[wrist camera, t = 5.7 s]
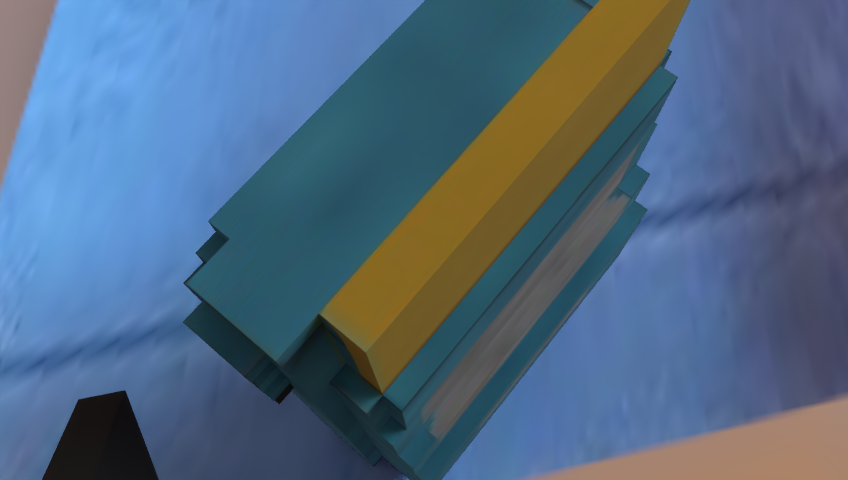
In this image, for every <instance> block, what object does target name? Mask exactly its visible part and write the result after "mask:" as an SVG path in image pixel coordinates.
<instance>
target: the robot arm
mask: <svg viewBox="0 0 848 480" xmlns="http://www.w3.org/2000/svg"><path fill="white" fill-rule="evenodd" d="M42 480H159V479H158V476H157V474H156V471H155V468H154V466H153V463H152V460H151V458H150V455H149V452H148V450H147V447H146V444H145V442H144V439H143V436H142V434H141V431H140V428H139V426H138V423H137V420H136V418H135V415H134V412H133V410H132V407H131V404H130V402H129V399H128V396H127V394H126V391H120V392H114V393H109V394H104V395H99V396H94V397H89V398H84V399H79V400H78V402H77V404H76V406H75V408H74V410H73V413H72V415H71V417H70V419H69V421H68V424H67V426H66V428H65V430H64V432H63V435H62V437H61V439H60V441H59V443H58V446H57V448H56V450H55V452H54V455H53V457H52V459H51V461H50V463H49V466H48V468H47V470H46V472H45V474H44V477H43V479H42Z"/></svg>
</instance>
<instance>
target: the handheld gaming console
mask: <svg viewBox="0 0 848 480" xmlns="http://www.w3.org/2000/svg"><path fill="white" fill-rule="evenodd" d="M689 2H690V0H425V1H424V2H423V3H422V4H421V5H420V6H419V7H418V8H417V9H416V10H415V11H414V12H413V13H412V14H411V15H410V16H409V17H408V19H407V20H406V21H405V22H404V23H403V24H402V25H401V26H400V27H399V28H398V29H397V30H396V31H395V32H394V33H393V34H392V35H391V36H390V37H389V38H388V39H387V40H386V41H385V42H384V43H383V44H382V45H381V46H380V47H379V48H378V49H377V50H376V51H375V52H374V53H373V54H372V55H371V56H370V57H369V58H368V59H367V60H366V61H365V62H364V63H363V64H362V65H361V66H360V67H359V68H358V69H357V70H356V71H355V72H354V73H353V74H352V75H351V76H350V77H349V78H348V80H347V81H346V82H345V83H344V84H343V85H342V86H341V87H340V88H339V89H338V90H337V91H336V92H335V93H334V94H333V95H332V96H331V97H330V98H329V99H328V100H327V101H326V102H325V103H324V104H323V105H322V106H321V107H320V108H319V109H318V110H317V111H316V112H315V113H314V114H313V115H312V116H311V117H310V118H309V119H308V120H307V121H306V122H305V123H304V124H303V125H302V126H301V127H300V128H299V129H298V130H297V131H296V132H295V133H294V134H293V135H292V136H291V137H290V138H289V139H288V141H287V142H286V143H285V144H284V145H283V146H282V147H281V148H280V149H279V150H278V151H277V152H276V153H275V154H274V155H273V156H272V157H271V158H270V159H269V160H268V161H267V162H266V163H265V164H264V165H263V166H262V167H261V168H260V169H259V170H258V171H257V172H256V173H255V174H254V175H253V176H252V177H251V178H250V179H249V180H248V181H247V182H246V183H245V184H244V185H243V186H242V187H241V188H240V189H239V190H238V191H237V192H236V193H235V194H234V195H233V196H232V197H231V198H230V199H229V200H228V201H227V203H226V204H225V205H224V206H223V207H222V208H221V209H220V210H219V211H218V212H217V213H216V214H215V215H214V216H213V217H212V218H211V219H210V220H209V221H208V222H209V223H210V224H211V226H212V227H213V228H214V230H215V231H216V232H215V233H214V234H213V235H212V236H211V237H210V238H209V240H208V241H207V242H206V243H205V244H204V245H203V246H202V247H201V248H200V249H199V250H198V251H197V252H196V254H197V255H198V256H199V258H200V259H201V260H202V261H203V263H202V264H201V265H200V266H199V267H198V268H197V269H196V271H195V272H194V273H193V274H192V275H191V276H190V277H189V278H188V279H187V280H186V281H185V282H184V284H185V285H186V286H187V287H188V288H189V289H190V290H191V291H192V292H193V293H194V294H195V295H196V296H197V297H198V298H199V299H200V300H201V301H202V303H201V304H200V305H199V306H198V307H197V308H196V309H195V310H194V311H193V312H192V313H191V314H190V315H189V316H188V317H187V318H186V319H185V320H184V321H183V323H184V324H185V325H186V326H188V327H189V328H190V329H191V330H192V331H193V332H194V333H196V334H197V335H198V336H199V337H200V338H201V339H202V340H203V341H205V342H206V343H207V344H208V345H209V346H210V347H211V348H212V349H214V350H215V351H216V352H217V353H218V354H219V355H220V356H221V357H223V358H224V359H225V360H226V361H227V362H228V363H229V364H231V365H232V366H233V367H234V368H235V369H236V370H237V371H238V372H240V373H241V374H242V375H243V376H244V377H245V378H246V379H248V380H249V381H250V382H251V383H253V384H254V385H255V386H256V387H257V388H259V389H260V390H261V391H262V392H264V393H265V394H266V395H267V396H268V397H270V398H271V399H272V400H273V401H274V400H275V401H276V402H277V403H278V404H280V403H281V402H282V401H283V400H284V398H285V397H286V396H287V395H288V394H289V393H290V392H291V391H293V392H294V393H295V394H296V395H297V396H298V397H299V398H300V399H301V400H302V401H303V402H304V403H305V404H306V405H307V406H308V407H309V408H310V409H311V410H312V411H313V412H314V413H315V414H316V415H317V416H318V417H319V418H320V419H321V420H322V421H323V422H324V423H325V424H326V425H328V426H329V427H330V428H331V429H332V430H333V431H334V432H335V433H336V434H337V435H339V436H340V437H341V438H342V439H343V440H344V441H345V442H347V443H348V444H349V445H350V446H351V447H352V448H353V449H355V450H356V451H357V452H358V453H359V454H360V455H361V456H363V457H364V458H365V459H366V460H367V461H368V462H369V463H371V464H372V465H373V466H375V465H376V463H377V462H378V461H379V460H380V458H381V457H382V456H383V457H384V458H385V459H386V460H388V461H389V462H390V463H391V464H392V465H393V466H395V467H396V468H397V469H398V470H399V471H400V472H401V473H403V474H404V475H405V476H406V477H407V478H408V479H410V480H442V479H443V477H444V476H445V475H446V473H447V472H448V471H449V470H450V468H451V467H452V466H453V465H454V463H455V462H456V461H457V460H458V458H459V457H460V456H461V454H462V453H463V452H464V451H465V449H466V448H467V447H468V446H469V444H470V443H471V442H472V441H473V439H474V438H475V437H476V435H477V434H478V433H479V432H480V430H481V429H482V428H483V427H484V425H485V424H486V423H487V422H488V420H489V419H490V418H491V416H492V415H493V414H494V413H495V411H496V410H497V409H498V408H499V406H500V405H501V404H502V403H503V401H504V400H505V399H506V397H507V396H508V395H509V394H510V392H511V391H512V390H513V389H514V387H515V386H516V385H517V384H518V382H519V381H520V380H521V378H522V377H523V376H524V375H525V373H526V372H527V371H528V370H529V368H530V367H531V366H532V365H533V363H534V362H535V361H536V359H537V358H538V357H539V356H540V354H541V353H542V352H543V351H544V349H545V348H546V347H547V346H548V344H549V343H550V342H551V340H552V339H553V338H554V337H555V335H556V334H557V333H558V332H559V330H560V329H561V328H562V327H563V325H564V324H565V323H566V321H567V320H568V319H569V318H570V316H571V315H572V314H573V313H574V311H575V310H576V309H577V308H578V306H579V305H580V304H581V302H582V301H583V300H584V299H585V297H586V296H587V295H588V294H589V292H590V291H591V290H592V289H593V287H594V286H595V285H596V284H597V282H598V281H599V280H600V278H601V277H602V276H603V275H604V273H605V272H606V271H607V270H608V268H609V267H610V266H611V265H612V263H613V262H614V261H615V259H616V258H617V257H618V256H619V254H620V252H621V251H622V249H623V248H624V246H625V245H626V243H627V241H628V240H629V238H630V237H631V235H632V234H633V232H634V230H635V229H636V227H637V226H638V224H639V223H640V221H641V219H642V218H643V216H644V215H645V213H646V212H647V209H646V208H645V207H643V206H642V205H640V204H639V203H637V202H636V201H635V199H636V198H637V196H638V194H639V192H640V191H641V189H642V187H643V185H644V184H645V182H646V180H647V179H648V177H649V175H650V174H649V173H648V172H646V171H645V170H643V169H642V168H640V167H639V166H637V165H636V164H637V162H638V160H639V158H640V156H641V154H642V152H643V151H644V149H645V147H646V145H647V143H648V141H649V139H650V137H651V135H652V133H653V132H654V130H655V128H656V126H657V124H656V123H654V122H655V120H656V118H657V117H658V115H659V113H660V111H661V109H662V107H663V105H664V103H665V101H666V99H667V97H668V95H669V93H670V91H671V90H672V88H673V86H674V84H675V82H676V80H677V78H678V77H677V76H675V75H674V74H672V73H670V72H669V71H667V70H666V69H664V67H665V65H666V63H667V61H668V58H669V56H670V54H671V52H672V51H670V50H669V49H668V47H669V45H670V43H671V41H672V39H673V37H674V35H675V32H676V30H677V28H678V26H679V24H680V22H681V20H682V17H683V15H684V13H685V11H686V9H687V7H688V5H689Z"/></svg>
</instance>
